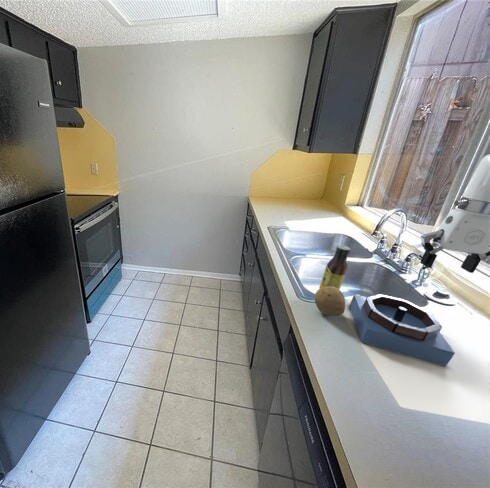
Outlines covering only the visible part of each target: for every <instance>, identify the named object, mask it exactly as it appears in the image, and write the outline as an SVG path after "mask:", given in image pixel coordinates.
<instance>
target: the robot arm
mask: <svg viewBox="0 0 490 488" xmlns="http://www.w3.org/2000/svg"><path fill="white" fill-rule="evenodd" d="M453 205H454V206H455V208H452V209H451V210H450V212H448V214H447V215H446V216H445V218H444V219H443V221H442V222H441V224H440V225H439V226H438V228H437V230H435V231H432V232H428V233H424V234H421V235H420V241H421V242H420V243H421V247H422V248H423V250H425V251H424V253H423V255H422V256H421V259H420V262H419V263H420V264H422V265H423V266H424V267H426V268H429V269H430V268H432V266H433V264H434V263H435V261H436V259H437V257H438V254H437V253H439V252H440V251H442V250H446V251H451V252H458V253H459V252H460V253H468V254H467V255H466V257H465V259H464V260H463V262H462V264H461V265H460V269H463V270H464V271H466V272H468V273H470V274H473V273H474V272H475V271H476V269H477V268H478V266H479V264H480V263H481V262H482V261H485V260H486V259H487V257H489V256H490V153H489V154H486V155H484V156H483V157H482V158H481V160H480V162H479V163H478V165H477V167H476V169H475V171H474V173H473V174H472V176H471V178H470V180H469V183H468V184H467V186H466V188H465V190H464V192H463V193H462V195H461V197H460V199H459V200H458V199H457V200H454V202H453ZM431 240H432V242H431Z"/></svg>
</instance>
